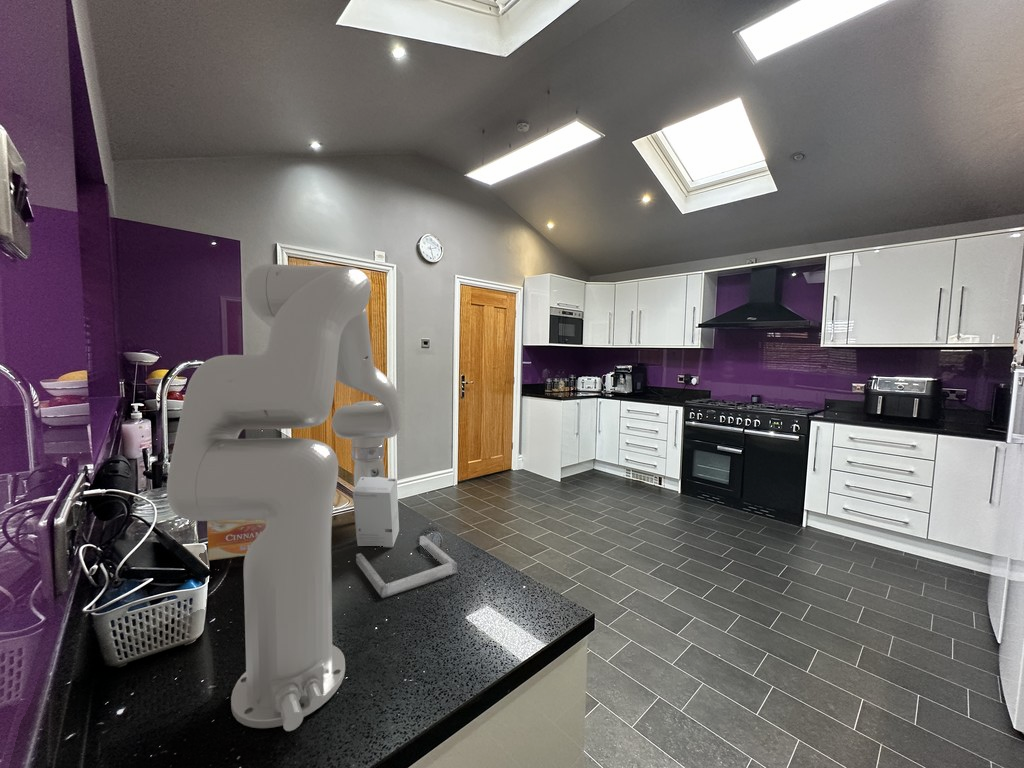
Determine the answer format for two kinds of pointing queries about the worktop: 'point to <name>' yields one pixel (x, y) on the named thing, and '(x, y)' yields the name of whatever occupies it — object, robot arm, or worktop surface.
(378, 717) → the worktop surface
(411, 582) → the bracket
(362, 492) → the skincare box
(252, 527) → the coffeecake box
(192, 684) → the worktop surface
